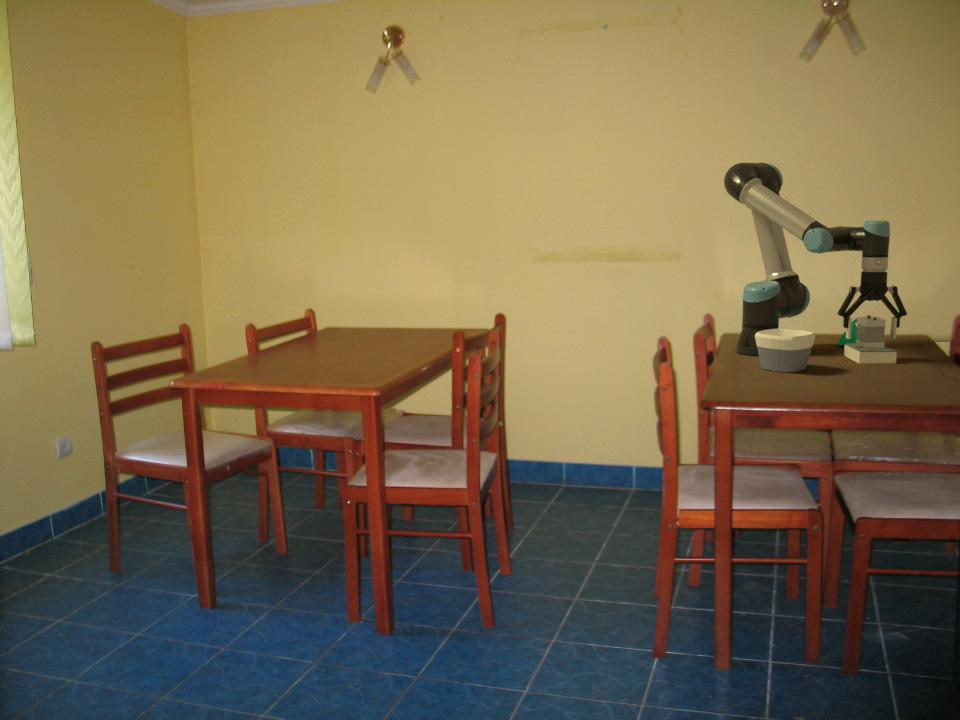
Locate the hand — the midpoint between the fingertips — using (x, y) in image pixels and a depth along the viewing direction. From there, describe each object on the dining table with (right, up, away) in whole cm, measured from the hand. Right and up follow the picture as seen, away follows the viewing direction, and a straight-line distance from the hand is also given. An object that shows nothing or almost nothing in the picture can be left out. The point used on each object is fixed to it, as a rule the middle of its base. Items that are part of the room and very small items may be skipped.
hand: (870, 338), depth 282 cm
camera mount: (+7, -3, +26) cm, 27 cm away
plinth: (0, -7, +1) cm, 7 cm away
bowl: (-31, -10, -11) cm, 35 cm away
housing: (0, -3, +1) cm, 3 cm away
